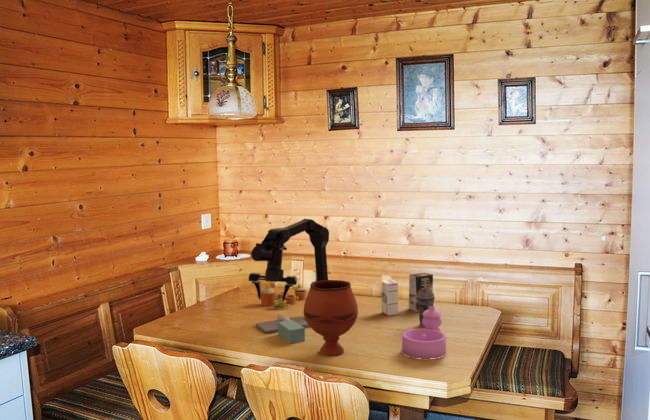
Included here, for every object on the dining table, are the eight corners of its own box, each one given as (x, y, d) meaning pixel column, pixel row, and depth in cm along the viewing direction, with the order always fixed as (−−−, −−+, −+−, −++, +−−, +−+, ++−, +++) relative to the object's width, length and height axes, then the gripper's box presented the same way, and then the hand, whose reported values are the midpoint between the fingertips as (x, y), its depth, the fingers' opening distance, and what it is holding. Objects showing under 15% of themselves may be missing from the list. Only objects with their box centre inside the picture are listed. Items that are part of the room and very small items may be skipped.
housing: (292, 332, 229) (291, 320, 229) (304, 340, 218) (304, 327, 218) (278, 334, 226) (277, 322, 226) (290, 343, 216) (290, 330, 215)
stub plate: (299, 319, 247) (299, 309, 247) (311, 326, 236) (311, 316, 236) (255, 326, 238) (255, 316, 238) (265, 333, 227) (265, 323, 227)
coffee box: (416, 312, 256) (417, 276, 254) (408, 309, 262) (408, 274, 260) (433, 309, 260) (433, 274, 259) (424, 306, 266) (424, 272, 264)
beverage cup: (436, 323, 238) (436, 276, 236) (432, 328, 232) (432, 280, 230) (419, 321, 241) (419, 275, 239) (414, 326, 235) (414, 278, 233)
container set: (441, 362, 195) (441, 324, 193) (397, 357, 200) (397, 320, 199) (453, 340, 218) (454, 306, 216) (414, 335, 223) (414, 302, 222)
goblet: (294, 350, 208) (293, 282, 206) (337, 340, 219) (336, 275, 216) (324, 365, 192) (323, 292, 190) (369, 353, 203) (368, 284, 201)
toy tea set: (281, 311, 260) (281, 291, 260) (254, 307, 268) (253, 287, 267) (311, 299, 283) (311, 279, 282) (285, 295, 291) (285, 276, 290)
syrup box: (399, 314, 253) (399, 281, 252) (387, 315, 251) (387, 283, 250) (392, 311, 258) (392, 279, 257) (381, 312, 256) (381, 280, 255)
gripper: (248, 260, 219) (244, 301, 219) (297, 264, 219) (293, 305, 218) (252, 258, 230) (248, 297, 230) (298, 262, 230) (295, 301, 229)
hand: (271, 300), depth 227 cm, fingers open, 9 cm apart
